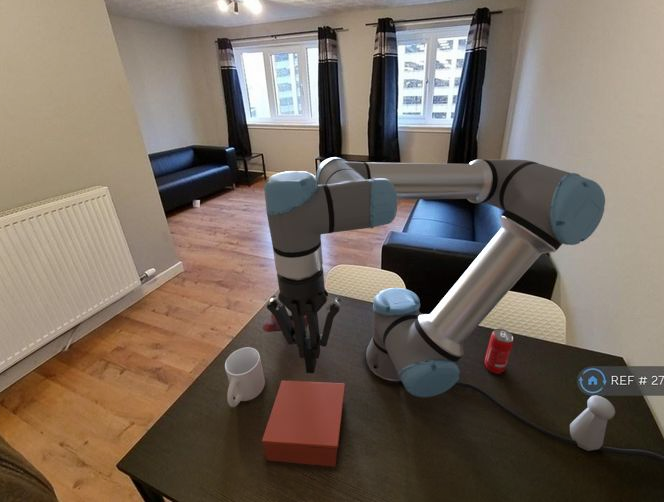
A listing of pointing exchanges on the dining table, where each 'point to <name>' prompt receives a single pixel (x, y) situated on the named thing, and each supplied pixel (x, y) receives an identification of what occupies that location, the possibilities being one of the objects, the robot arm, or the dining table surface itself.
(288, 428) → the box lid
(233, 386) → the mug
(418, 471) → the dining table surface
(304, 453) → the red tray
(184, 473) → the dining table surface
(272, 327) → the bowl
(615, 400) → the dining table surface
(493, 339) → the beverage can
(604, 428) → the salt shaker
